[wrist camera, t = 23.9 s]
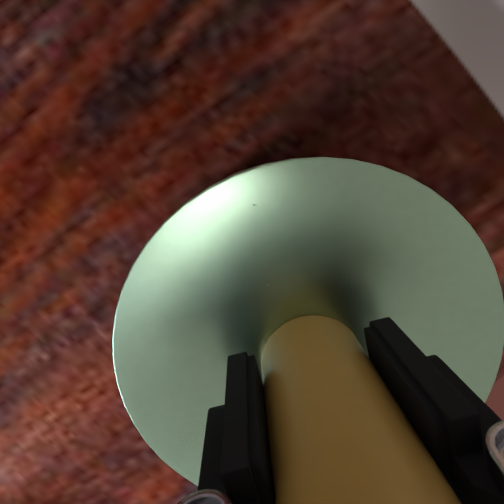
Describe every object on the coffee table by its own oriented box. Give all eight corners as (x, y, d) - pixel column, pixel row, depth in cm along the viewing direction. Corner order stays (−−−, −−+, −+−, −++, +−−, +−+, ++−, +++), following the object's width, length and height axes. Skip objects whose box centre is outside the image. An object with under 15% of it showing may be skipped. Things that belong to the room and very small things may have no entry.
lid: (466, 109, 10) (1002, -6, 3) (494, 444, 14) (787, 774, 6) (65, 215, 11) (-299, 334, 4) (185, 514, 14) (125, 899, 7)
